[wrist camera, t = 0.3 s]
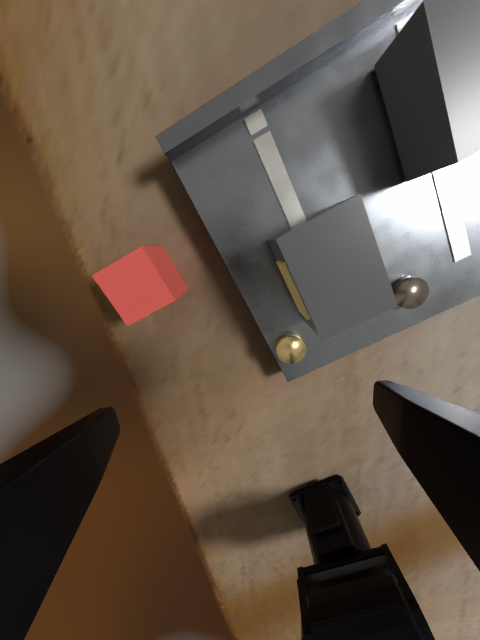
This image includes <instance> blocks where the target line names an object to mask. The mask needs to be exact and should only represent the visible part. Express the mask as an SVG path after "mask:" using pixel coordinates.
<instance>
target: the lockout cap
mask: <svg viewBox="0 0 480 640" xmlns="http://www.w3.org/2000/svg"><path fill="white" fill-rule="evenodd" d="M92 277H93V278H94V280H95V281H96V282H97V284H98V285H99V287H100V288H101V290H102V291H103V292H104V294H105V295H106V297H107V298H108V299H109V301H110V302H111V304H112V305H113V307H114V308H115V309H116V311H117V312H118V314H119V315H120V316H121V318H122V319H123V321H124V322H125V324H126V325H127V326H129V325H131V324H132V323H134V322H136V321H138V320H140V319H142V318H144V317H146V316H147V315H149V314H151V313H153V312H155V311H157V310H159V309H160V308H162V307H164V306H166V305H168V304H170V303H172V302H173V301H175V300H177V299H178V298H179V297H180V296H181V295H182V294H183V293H184V292H186V291H187V290H188V288H187V286H186V284H185V283H184V281H183V279H182V278H181V276H180V274H179V273H178V271H177V269H176V267H175V266H174V264H173V262H172V261H171V259H170V257H169V256H168V254H167V252H166V251H165V249H164V247H163V246H142V247H140V248H138V249H136V250H135V251H133V252H131V253H130V254H128V255H126V256H125V257H123V258H121V259H119V260H118V261H116V262H114V263H113V264H111V265H109V266H107V267H106V268H104V269H102V270H101V271H99V272H97V273H95V274H94V275H92Z"/></svg>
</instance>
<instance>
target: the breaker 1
mask: <svg viewBox="0 0 480 640" xmlns="http://www.w3.org/2000/svg"><path fill="white" fill-rule="evenodd" d="M267 241H268V243H269V245H270V247H271V250H272V252H273V254H274V256H275V258H276V260H277V261H276V263H277V265H278V268H279V270H280V272H281V274H282V276H283V278H284V280H285V283H286V285H287V287H288V289H289V291H290V293H291V295H292V298H293V300H294V302H295V304H296V306H297V308H298V310H299V312H300V313H301V314H302V316H303V318H304V320H305V322H306V324H307V325H308V326H309V327H310V328H311V329H312V330H313V331H314V333H315V334H316V335H317V336H318V337H319V338H320V339H321V341H324V340H326V339H328V338H330V337H332V336H335V335H337V334H339V333H341V332H343V331H345V330H347V329H350V328H352V327H354V326H356V325H358V324H360V323H362V322H365V321H367V320H369V319H371V318H373V317H375V316H377V315H380V314H382V313H384V312H386V311H388V310H390V309H392V308H395V307H397V306H398V304H397V301H396V298H395V295H394V292H393V289H392V286H391V283H390V280H389V277H388V274H387V272H386V269H385V266H384V263H383V260H382V257H381V254H380V251H379V248H378V245H377V242H376V239H375V236H374V233H373V230H372V227H371V224H370V221H369V218H368V215H367V212H366V209H365V206H364V203H363V200H362V197H361V194H358V195H355V196H353V197H350V198H348V199H346V200H343V201H341V202H339V203H336V204H334V205H332V206H330V207H328V208H326V209H324V210H323V211H321V212H319V213H317V214H315V215H313V216H312V217H310V218H308V219H306V220H304V221H302V222H301V223H299V224H297V225H295V226H293V227H291V228H289V229H288V230H286V231H284V232H282V233H280V234H278V235H277V236H275V237H273V238H271V239H269V240H267Z"/></svg>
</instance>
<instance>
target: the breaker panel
mask: <svg viewBox="0 0 480 640" xmlns="http://www.w3.org/2000/svg"><path fill="white" fill-rule="evenodd" d="M422 2H423V0H364V1H362V2H361V3H359V4H357V5H356V6H354V7H353V8H351V9H350V10H348V11H347V12H345V13H344V14H342V15H341V16H339V17H338V18H336V19H334V20H333V21H331V22H330V23H328V24H327V25H325V26H324V27H322V28H321V29H319V30H318V31H316V32H314V33H313V34H311V35H310V36H308V37H307V38H305V39H304V40H302V41H301V42H299V43H298V44H296V45H295V46H293V47H291V48H290V49H288V50H287V51H285V52H284V53H282V54H281V55H279V56H278V57H276V58H275V59H273V60H272V61H270V62H268V63H267V64H265V65H264V66H262V67H261V68H259V69H258V70H256V71H255V72H253V73H252V74H250V75H249V76H247V77H245V78H244V79H242V80H241V81H239V82H238V83H236V84H235V85H233V86H232V87H230V88H229V89H227V90H225V91H224V92H222V93H221V94H219V95H218V96H216V97H215V98H213V99H212V100H210V101H209V102H207V103H206V104H204V105H202V106H201V107H199V108H198V109H196V110H195V111H193V112H192V113H190V114H189V115H187V116H186V117H184V118H183V119H181V120H179V121H178V122H176V123H175V124H173V125H172V126H170V127H169V128H167V129H166V130H164V131H163V132H161V133H160V134H158V135H156V136H155V137H156V138H157V140H158V142H159V144H160V146H161V148H162V150H163V152H164V153H165V155H166V156H167V157H168V158H169V160H170V161H171V163H172V164H173V166H174V168H175V170H176V172H177V174H178V176H179V178H180V179H181V181H182V183H183V185H184V187H185V189H186V191H187V193H188V195H189V196H190V198H191V200H192V202H193V204H194V206H195V208H196V210H197V212H198V213H199V215H200V217H201V219H202V221H203V223H204V225H205V227H206V228H207V230H208V232H209V234H210V236H211V238H212V240H213V242H214V244H215V245H216V247H217V249H218V251H219V253H220V255H221V257H222V259H223V261H224V262H225V264H226V266H227V268H228V270H229V272H230V274H231V276H232V277H233V279H234V281H235V283H236V285H237V287H238V289H239V291H240V293H241V294H242V296H243V298H244V300H245V302H246V304H247V306H248V308H249V310H250V311H251V313H252V315H253V317H254V319H255V321H256V323H257V325H258V326H259V328H260V330H261V332H262V334H263V336H264V338H265V340H266V342H267V343H268V345H269V347H270V349H271V351H272V353H273V355H274V357H275V359H276V360H277V362H278V364H279V366H280V368H281V370H282V372H283V374H284V375H285V377H286V379H287V381H291V380H293V379H295V378H297V377H300V376H302V375H304V374H306V373H308V372H311V371H313V370H315V369H317V368H319V367H322V366H324V365H326V364H328V363H330V362H333V361H335V360H337V359H339V358H342V357H344V356H346V355H348V354H350V353H353V352H355V351H357V350H359V349H361V348H364V347H366V346H368V345H370V344H373V343H375V342H377V341H379V340H381V339H384V338H386V337H388V336H390V335H392V334H395V333H397V332H399V331H401V330H404V329H406V328H408V327H410V326H412V325H415V324H417V323H419V322H421V321H423V320H426V319H428V318H430V317H432V316H435V315H437V314H439V313H441V312H443V311H446V310H448V309H450V308H452V307H454V306H457V305H459V304H461V303H463V302H465V301H468V300H470V299H472V298H474V297H477V296H479V295H480V151H479V152H478V153H476V154H474V155H472V156H470V157H468V158H466V159H464V160H462V161H461V162H459V163H456V164H453V165H451V166H448V167H445V168H443V169H440V170H437V171H435V172H432V173H429V174H427V175H424V176H421V177H419V178H416V179H413V180H411V181H408V182H406V178H405V175H404V171H403V168H402V164H401V161H400V157H399V153H398V150H397V146H396V143H395V139H394V135H393V132H392V128H391V125H390V121H389V118H388V114H387V110H386V107H385V103H384V100H383V96H382V93H381V89H380V85H379V82H378V78H377V75H376V71H375V68H374V65H375V64H376V62H377V61H378V60H379V58H380V57H381V56H382V54H383V53H384V52H385V50H386V49H387V48H388V46H389V45H390V44H391V43H392V41H393V40H394V39H395V37H396V36H397V35H398V33H399V32H400V31H401V29H402V28H403V27H404V25H405V24H406V23H407V21H408V20H409V19H410V17H411V16H412V15H413V13H414V12H415V11H416V9H417V8H418V7H419V6H420V4H421V3H422ZM358 194H361V197H362V200H363V203H364V206H365V209H366V212H367V215H368V218H369V221H370V224H371V227H372V230H373V233H374V236H375V239H376V242H377V245H378V248H379V251H380V254H381V257H382V260H383V263H384V266H385V269H386V272H387V274H388V277H389V280H390V283H391V286H392V289H393V292H394V295H395V298H396V301H397V304H398V306H397V307H395V308H392V309H390V310H388V311H386V312H384V313H382V314H380V315H377V316H375V317H373V318H371V319H369V320H367V321H365V322H362V323H360V324H358V325H356V326H354V327H352V328H350V329H347V330H345V331H343V332H341V333H339V334H337V335H335V336H332V337H330V338H328V339H326V340H324V341H321V339H320V338H319V337H318V336H317V335H316V334H315V333H314V331H313V330H312V329H311V328H310V327H309V326H308V325H307V324H306V322H305V320H304V318H303V316H302V314H301V313H300V312H299V310H298V308H297V306H296V304H295V302H294V300H293V298H292V295H291V293H290V291H289V289H288V287H287V285H286V283H285V280H284V278H283V276H282V274H281V272H280V270H279V268H278V265H277V263H276V261H277V260H276V258H275V256H274V254H273V252H272V250H271V247H270V245H269V243H268V241H267V240H269V239H271V238H273V237H275V236H277V235H278V234H280V233H282V232H284V231H286V230H288V229H289V228H291V227H293V226H295V225H297V224H299V223H301V222H302V221H304V220H306V219H308V218H310V217H312V216H313V215H315V214H317V213H319V212H321V211H323V210H324V209H326V208H328V207H330V206H332V205H334V204H336V203H339V202H341V201H343V200H346V199H348V198H350V197H353V196H355V195H358Z"/></svg>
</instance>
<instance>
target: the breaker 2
mask: <svg viewBox="0 0 480 640" xmlns="http://www.w3.org/2000/svg"><path fill="white" fill-rule="evenodd" d="M374 68H375V71H376V75H377V78H378V82H379V85H380V89H381V93H382V96H383V100H384V103H385V107H386V110H387V114H388V118H389V121H390V125H391V128H392V132H393V135H394V139H395V143H396V146H397V150H398V153H399V157H400V161H401V164H402V168H403V171H404V175H405V178H406V182H408V181H411V180H413V179H416V178H419V177H421V176H424V175H427V174H429V173H432V172H435V171H437V170H440V169H443V168H445V167H448V166H451V165H453V164H456V163H459V162H461V161H462V160H464V159H466V158H468V157H470V156H472V155H474V154H476V153H478V152H479V151H480V0H423V2H422V3H421V4H420V6H419V7H418V8H417V9H416V11H415V12H414V13H413V15H412V16H411V17H410V19H409V20H408V21H407V23H406V24H405V25H404V27H403V28H402V29H401V31H400V32H399V33H398V35H397V36H396V37H395V39H394V40H393V41H392V43H391V44H390V45H389V46H388V48H387V49H386V50H385V52H384V53H383V54H382V56H381V57H380V58H379V60H378V61H377V62H376V64H375V65H374Z"/></svg>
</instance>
